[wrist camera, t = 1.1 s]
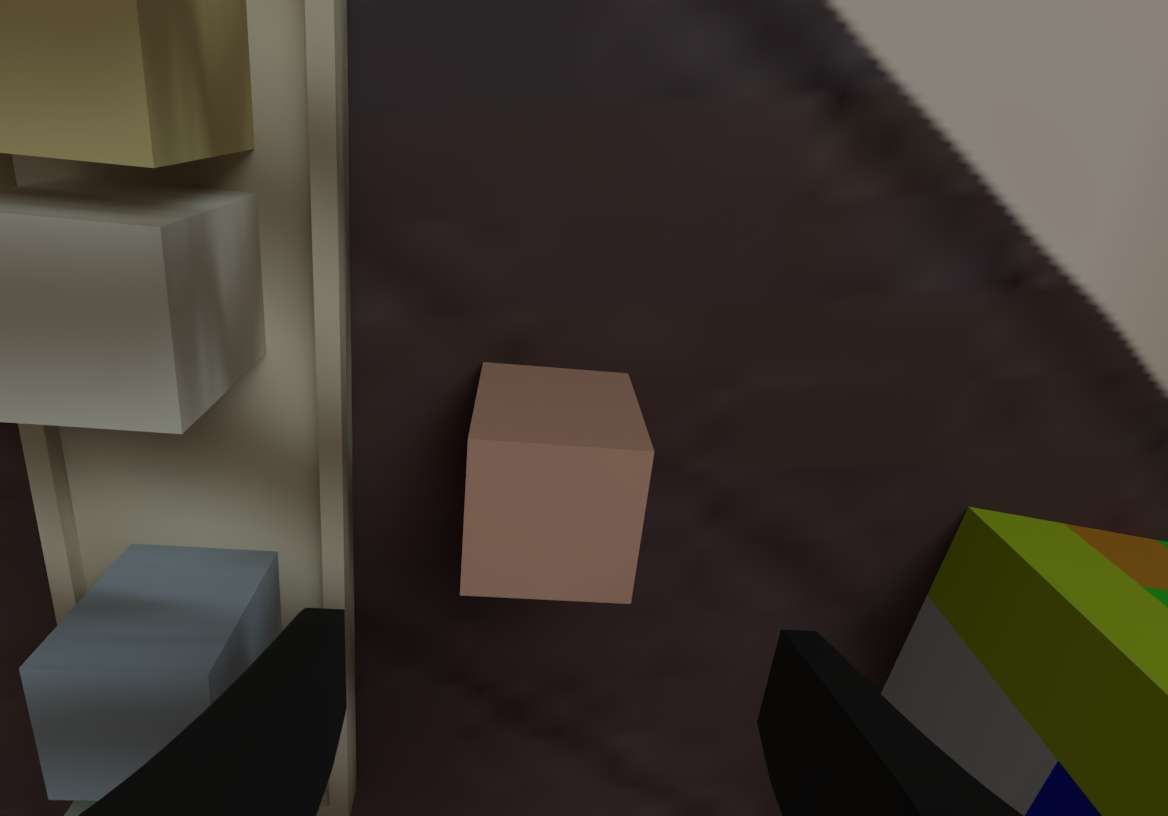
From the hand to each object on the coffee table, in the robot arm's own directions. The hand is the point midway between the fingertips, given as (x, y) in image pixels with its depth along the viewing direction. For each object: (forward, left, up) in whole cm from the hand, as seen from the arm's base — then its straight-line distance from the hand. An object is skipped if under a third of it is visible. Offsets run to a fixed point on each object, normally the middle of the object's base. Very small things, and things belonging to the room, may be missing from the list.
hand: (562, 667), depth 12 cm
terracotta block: (0, 0, -10) cm, 10 cm away
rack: (-1, +9, -10) cm, 14 cm away
